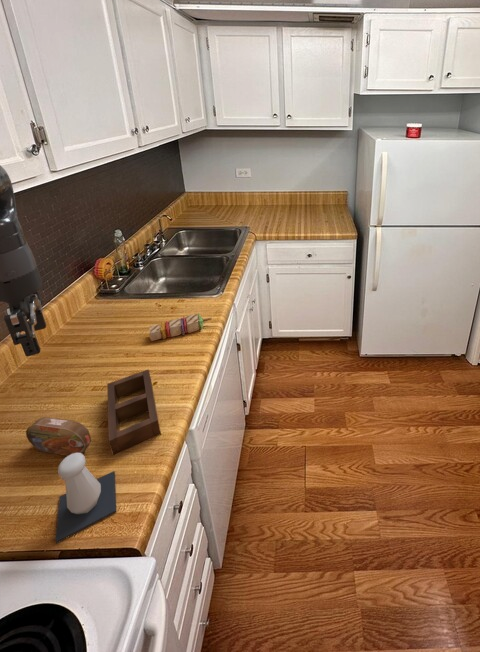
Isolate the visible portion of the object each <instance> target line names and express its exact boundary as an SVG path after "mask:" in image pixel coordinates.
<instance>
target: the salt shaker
mask: <svg viewBox="0 0 480 652" xmlns="http://www.w3.org/2000/svg"><path fill="white" fill-rule="evenodd" d="M86 464H87V462H86V457H85V455H84V453H74V454H71V455H69V456H67V455H66V457H64V458H63V460H62V461H61V462H60V463H59V464H58V467H57V472H58V473H57V474H58V476H59V478H61V480H64V483H65V484H64V485H65V494H66V498H67V508H68V509H69V510H70V511H71V513H75V514H83V513H88V512H89V511H90V510H91V509H92V508H93V507H94V506H95V505H96V504H97V501H98V498H99V495H100V493H101V484H100V483H99V482H98V481H97V479H98V478H96V477H95V476H94V474H92V473H91V471H90V470H89V469H88V468H87V467H86Z"/></svg>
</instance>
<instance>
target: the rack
mask: <svg viewBox="0 0 480 652" xmlns="http://www.w3.org/2000/svg"><path fill="white" fill-rule="evenodd" d="M106 387H107V391H106V392H107V431H108V443H109V447H110V450H111V453H112V456H116V455H119V454H120V453H123V452H124V451H126V450H129V449H131V448H133V447H136V446H138V445H141V444H142V443H143V444H144V442H147V441H149V440H152V439H154V438H156V437H158V436H161V435H162V432H161V426H160V421H159V414H158V410H157V404H156V399H155V393H154V387H153V381H152V378H151V374H150V370H149V369H145V370H143V371H140V372H137V373H134V374H132V375H128V376H125V377H123V378H120V379H117V380H114V381H111V382H109V383H107V386H106ZM142 390H144V391H145V393H142V394H139V395H137V396H135V397H131V398H129V399H127V400H124V401H122V402H119V399H121V398H123V397H126V396H129V395H131V394H134V393H137V392H140V391H142ZM145 413H148V416H149V418H147V419H145V420H142V421H139V422H137V423H135V424H132V425H130V426H127V427H125V428H123V429H121V427H120V424H121V423H123V422H126V421H128V420H131V419H133V418H136V417H138V416H141V415H143V414H145Z"/></svg>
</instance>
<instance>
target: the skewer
mask: <svg viewBox="0 0 480 652" xmlns="http://www.w3.org/2000/svg"><path fill="white" fill-rule="evenodd" d="M208 321H212V317H208V318H203V317H202V316H201V314H200V313H193V314H189V315H186V316H183V317H180V318H175V319H170V320H168V321H167V320H166V321H165V322H164V321H163V322H160V323H158V324H154V325H150V326H149V332H148V333H149V336H148V337H149V340H150V341H151V342H153V341H157V340H160V339H163V340H165V339H166V338H170V337H171V338H172V337H177V336H180V335H182V336H184V335H185V334H190V333H193V332H196V331H199V330H203V328H204V327H203V326H204V323H205V322H208Z"/></svg>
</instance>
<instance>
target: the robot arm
mask: <svg viewBox="0 0 480 652" xmlns="http://www.w3.org/2000/svg"><path fill="white" fill-rule="evenodd" d="M43 285H44V282H43V279H42V276H41V273H40V270H39V268H38V264H37V261H36V258H35V256H34V253H33V251H32V249H31V248H30V246H29V243H28V241H27V238H26V235H25V232H24V230H23V227H22V224H21V223H20V220H19V217H18V212H17V203H16V197H15V192H14V187H13V184H12V180H11V178H10V175H9V174H8V172H7V170H6V169H5V167H3V166H2V165H1V164H0V303H6V304H8V305H7V306H6V313H7V315H4V317H3V321H4V322H5V324H6V328H7V330H8V333H9V335H10V338H11V341H12V344H13V345H14V346H17V345H21V348H22V351H23V353H24V355H25V356H26V357H31V356H35V355H38V354H40V353H41V350H42V349H41V346H40V343H39V340H38V338H37V335H36V332H37V331H40V330H45V329H46V328H47V322H46V319H45V317H44V314H43V310H44V307H43V304H44V300H43V299H42V296H41V293H40V290H41V288H43ZM22 332H24V333H22Z"/></svg>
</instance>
